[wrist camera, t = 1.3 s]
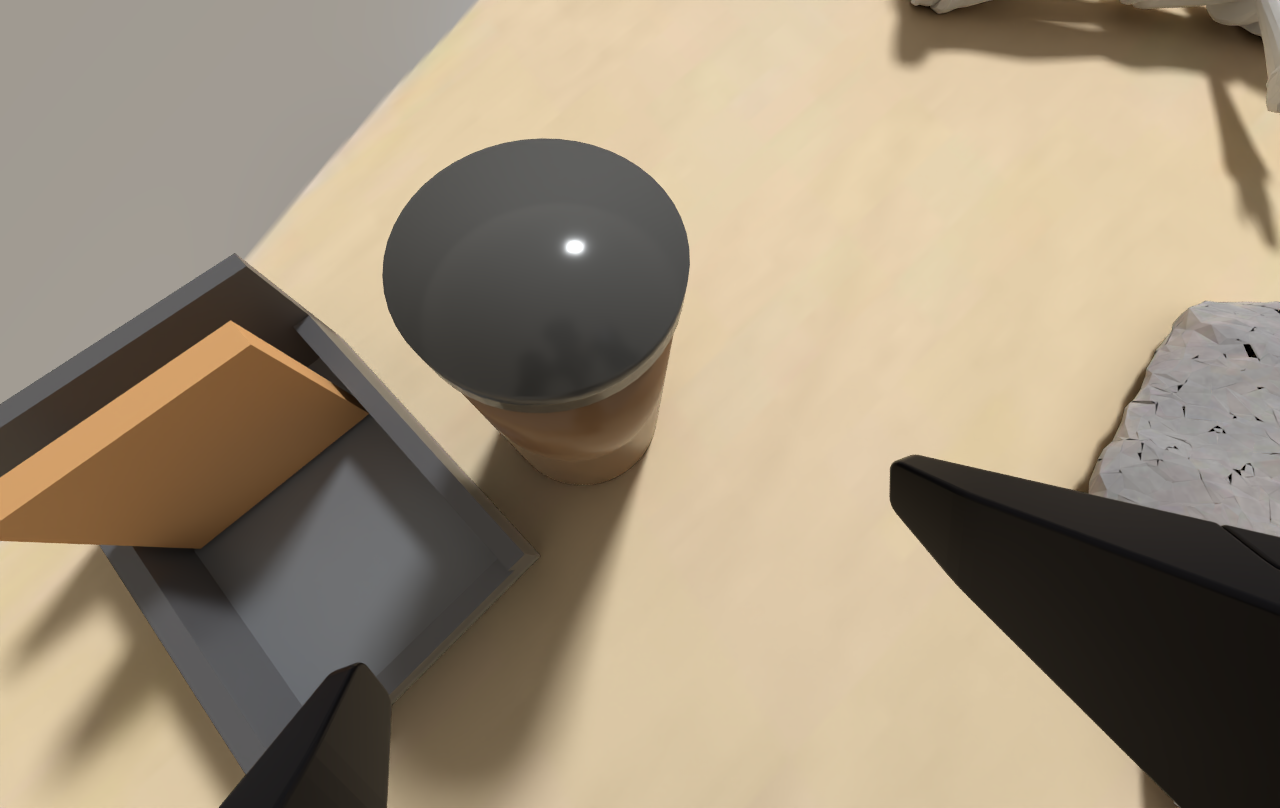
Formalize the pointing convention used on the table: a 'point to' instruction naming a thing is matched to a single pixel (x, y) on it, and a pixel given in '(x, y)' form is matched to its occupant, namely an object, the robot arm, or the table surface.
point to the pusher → (179, 450)
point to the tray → (292, 524)
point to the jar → (545, 297)
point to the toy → (1260, 3)
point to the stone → (1205, 422)
